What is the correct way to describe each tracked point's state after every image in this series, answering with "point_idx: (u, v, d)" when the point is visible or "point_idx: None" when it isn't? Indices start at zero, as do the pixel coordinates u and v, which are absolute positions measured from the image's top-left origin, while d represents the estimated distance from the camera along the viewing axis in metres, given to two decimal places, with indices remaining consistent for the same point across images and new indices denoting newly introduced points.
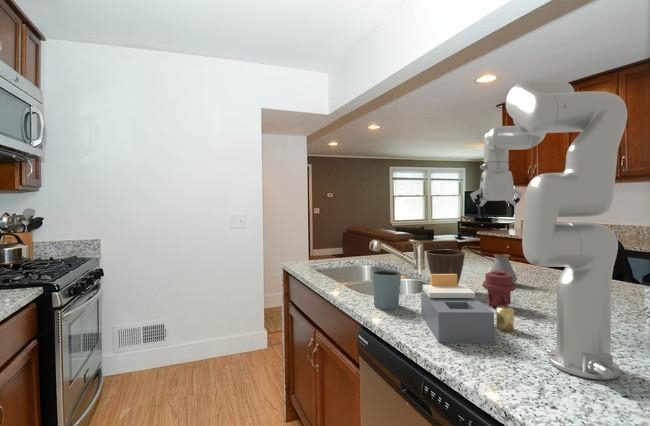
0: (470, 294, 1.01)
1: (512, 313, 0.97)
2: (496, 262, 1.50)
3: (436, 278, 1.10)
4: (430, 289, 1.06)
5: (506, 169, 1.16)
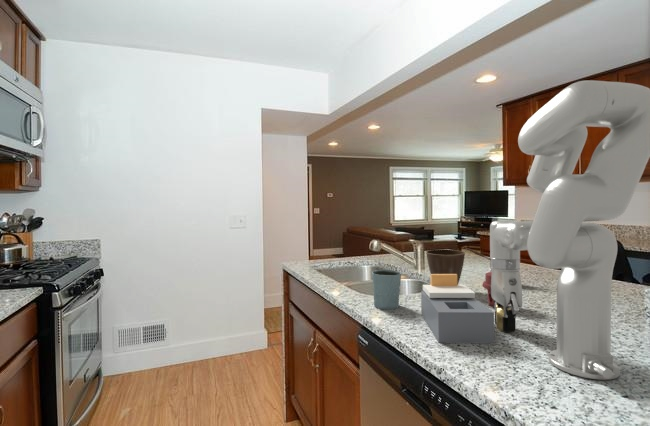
0: (470, 294, 1.01)
1: None
2: None
3: (436, 278, 1.10)
4: (430, 289, 1.06)
5: None
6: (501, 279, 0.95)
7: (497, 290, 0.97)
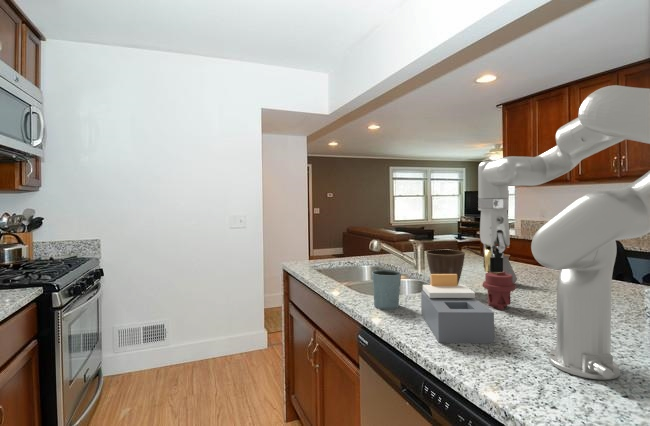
0: (470, 294, 1.01)
1: None
2: None
3: (436, 278, 1.10)
4: (430, 289, 1.06)
5: None
6: (488, 219, 0.94)
7: (485, 231, 0.96)
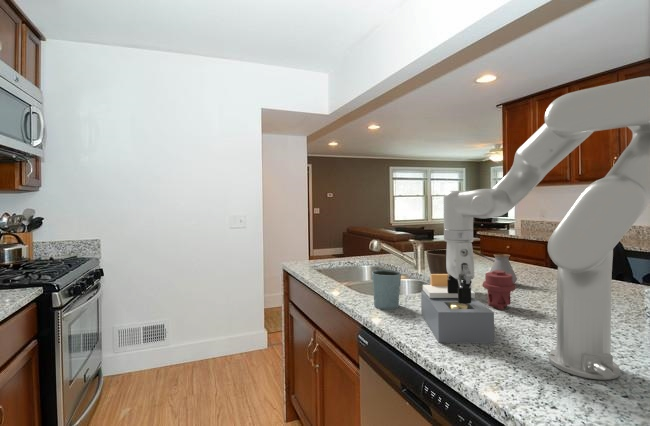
0: None
1: None
2: (496, 262, 1.50)
3: (436, 278, 1.10)
4: (430, 289, 1.06)
5: None
6: (453, 251, 0.92)
7: (450, 262, 0.94)
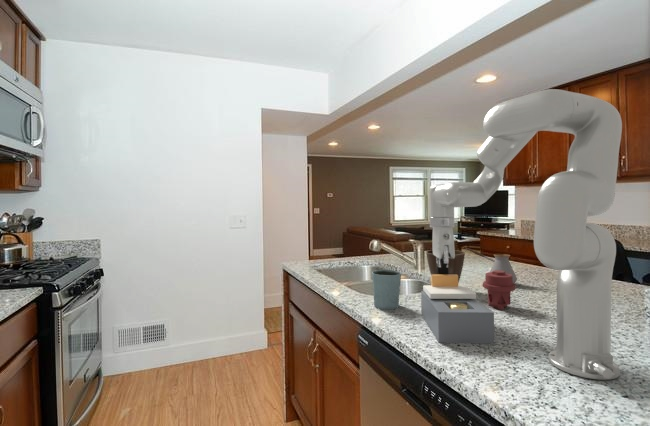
0: (471, 295, 1.00)
1: None
2: (496, 262, 1.50)
3: (437, 279, 1.09)
4: (431, 290, 1.05)
5: None
6: (437, 235, 1.09)
7: (435, 245, 1.11)
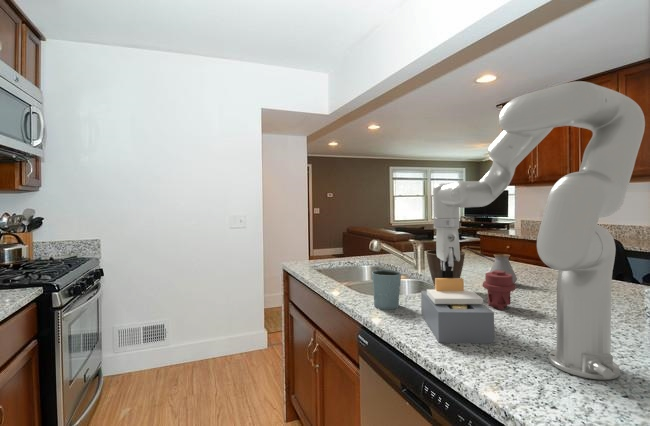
0: (478, 300, 0.95)
1: None
2: (496, 262, 1.50)
3: (441, 282, 1.04)
4: (435, 294, 1.00)
5: None
6: (441, 236, 1.04)
7: (439, 247, 1.06)
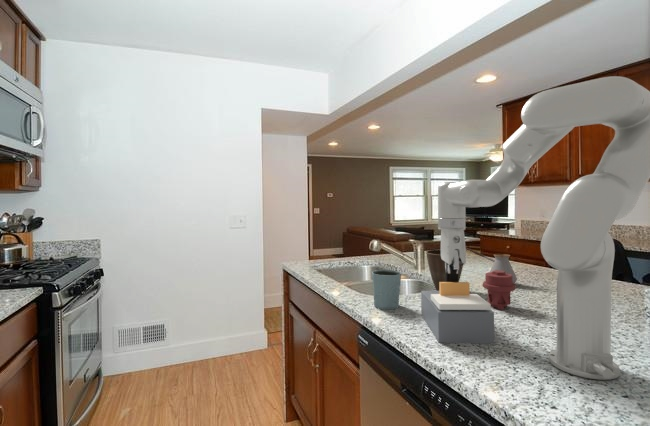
0: (485, 306, 0.90)
1: None
2: (496, 262, 1.50)
3: (446, 287, 0.99)
4: (439, 299, 0.94)
5: None
6: (446, 238, 0.98)
7: (444, 249, 1.01)
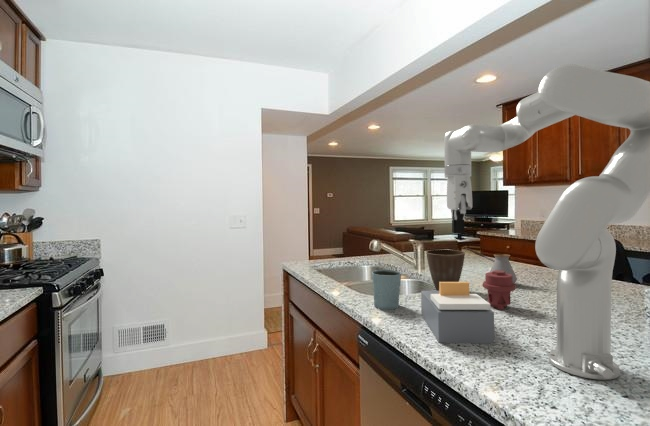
0: (485, 305, 0.90)
1: None
2: (496, 262, 1.50)
3: (446, 287, 0.99)
4: (439, 299, 0.95)
5: None
6: (453, 184, 1.01)
7: (450, 196, 1.03)
